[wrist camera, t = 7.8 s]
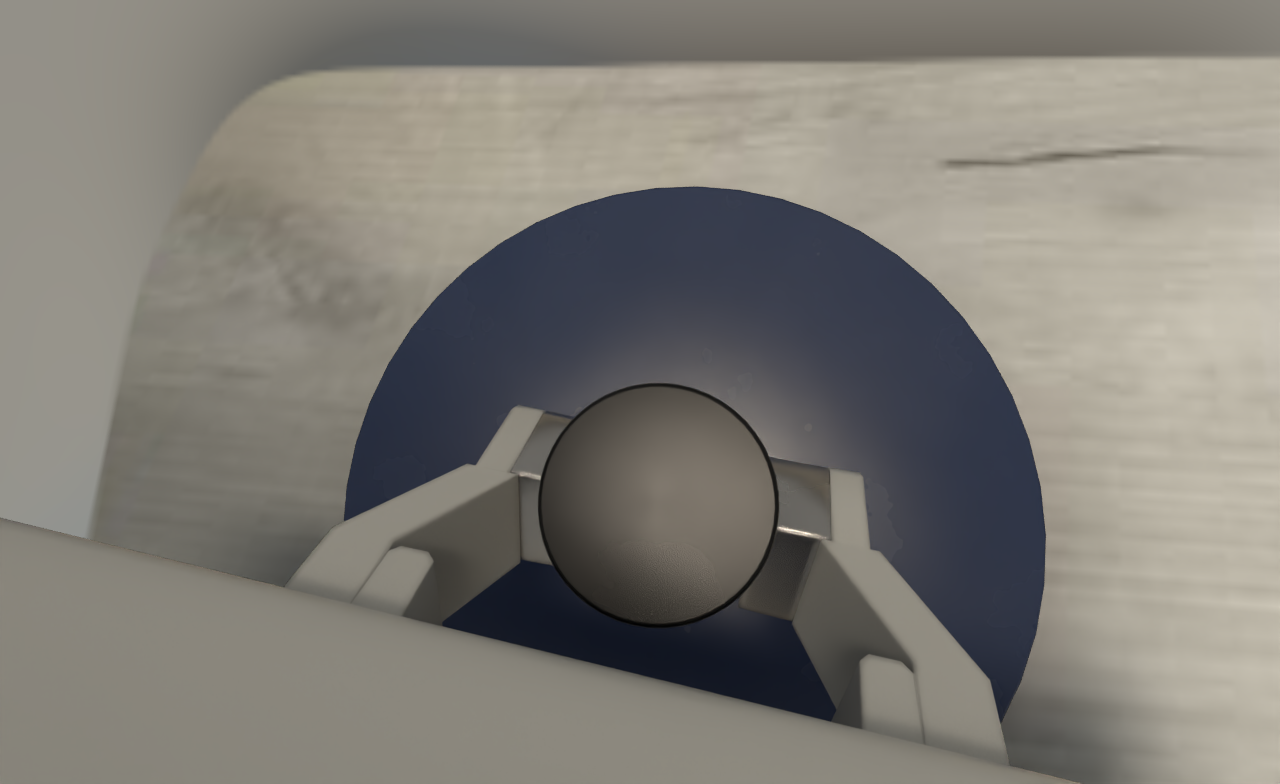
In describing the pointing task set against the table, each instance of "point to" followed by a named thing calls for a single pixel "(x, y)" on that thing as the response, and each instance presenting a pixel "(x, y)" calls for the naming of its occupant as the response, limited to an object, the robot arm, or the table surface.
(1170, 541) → the table surface
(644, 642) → the lid
